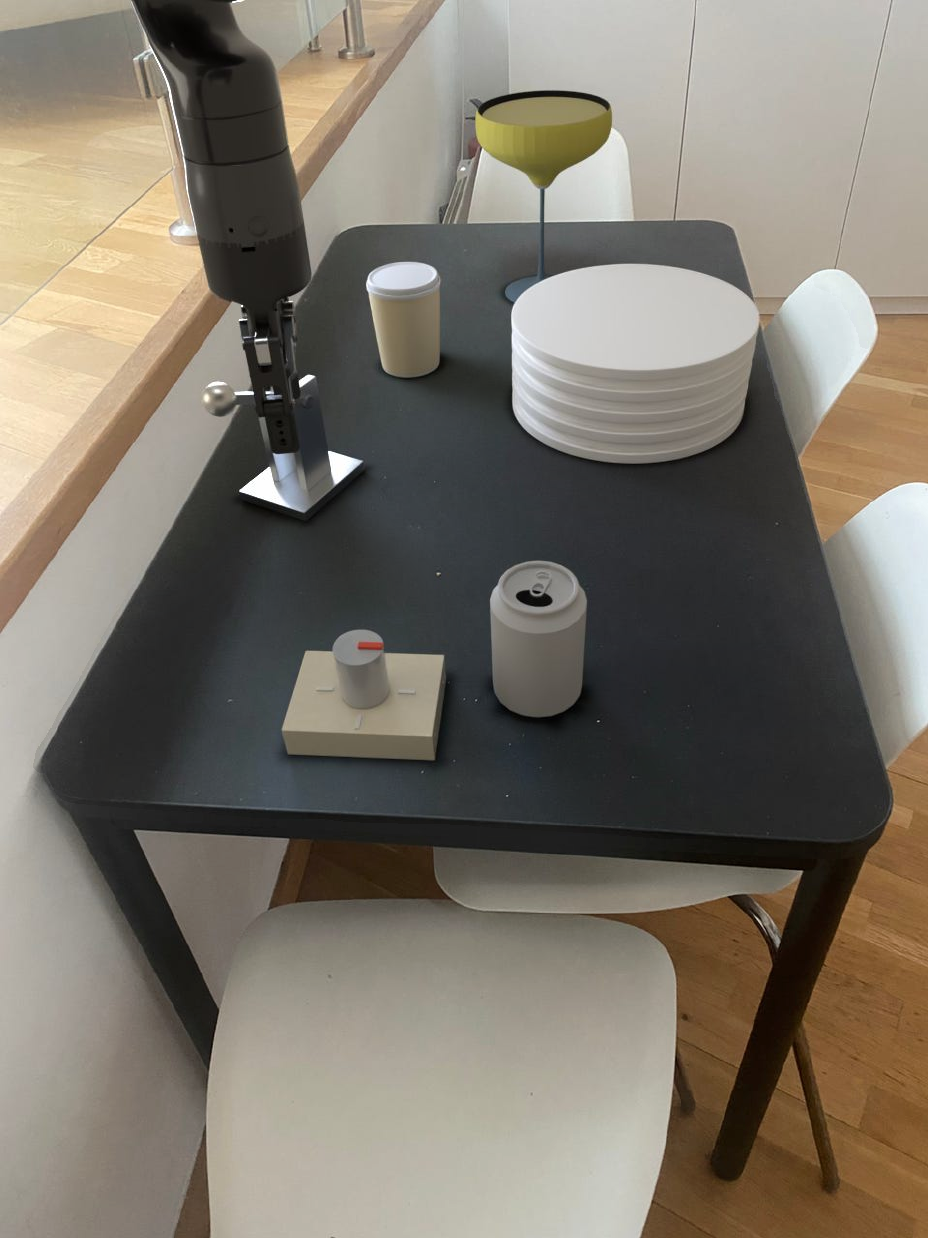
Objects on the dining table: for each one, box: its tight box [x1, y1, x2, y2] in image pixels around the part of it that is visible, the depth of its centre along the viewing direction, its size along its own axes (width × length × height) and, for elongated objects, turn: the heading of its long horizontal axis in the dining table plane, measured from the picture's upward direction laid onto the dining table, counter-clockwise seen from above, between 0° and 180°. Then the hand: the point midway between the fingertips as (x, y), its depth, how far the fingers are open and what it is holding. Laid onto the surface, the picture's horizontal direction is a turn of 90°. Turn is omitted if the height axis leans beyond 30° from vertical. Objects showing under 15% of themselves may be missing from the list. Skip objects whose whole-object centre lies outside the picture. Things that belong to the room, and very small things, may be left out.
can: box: [489, 560, 588, 718], centre depth 74 cm, size 8×8×12 cm
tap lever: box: [201, 381, 274, 418], centre depth 91 cm, size 13×3×3 cm, turn 150°
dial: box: [332, 629, 390, 709], centre depth 73 cm, size 4×4×5 cm
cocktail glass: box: [474, 89, 613, 304], centre depth 129 cm, size 18×18×25 cm
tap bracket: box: [238, 374, 365, 522], centre depth 99 cm, size 11×9×13 cm
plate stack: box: [510, 263, 761, 465], centre depth 109 cm, size 28×28×12 cm
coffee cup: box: [365, 261, 441, 378], centre depth 119 cm, size 9×9×12 cm
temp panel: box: [281, 650, 447, 761], centre depth 76 cm, size 12×9×3 cm
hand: (287, 423), depth 75 cm, fingers open, 8 cm apart
